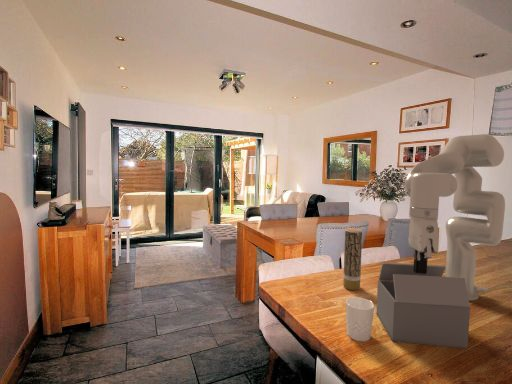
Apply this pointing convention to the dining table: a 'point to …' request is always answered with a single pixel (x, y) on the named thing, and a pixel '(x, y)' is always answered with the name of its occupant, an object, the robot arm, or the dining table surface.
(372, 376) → the dining table surface
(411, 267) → the flap
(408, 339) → the carton
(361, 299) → the white cup
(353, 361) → the dining table surface
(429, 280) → the flap
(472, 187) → the robot arm
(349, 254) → the paper tube
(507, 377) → the dining table surface
